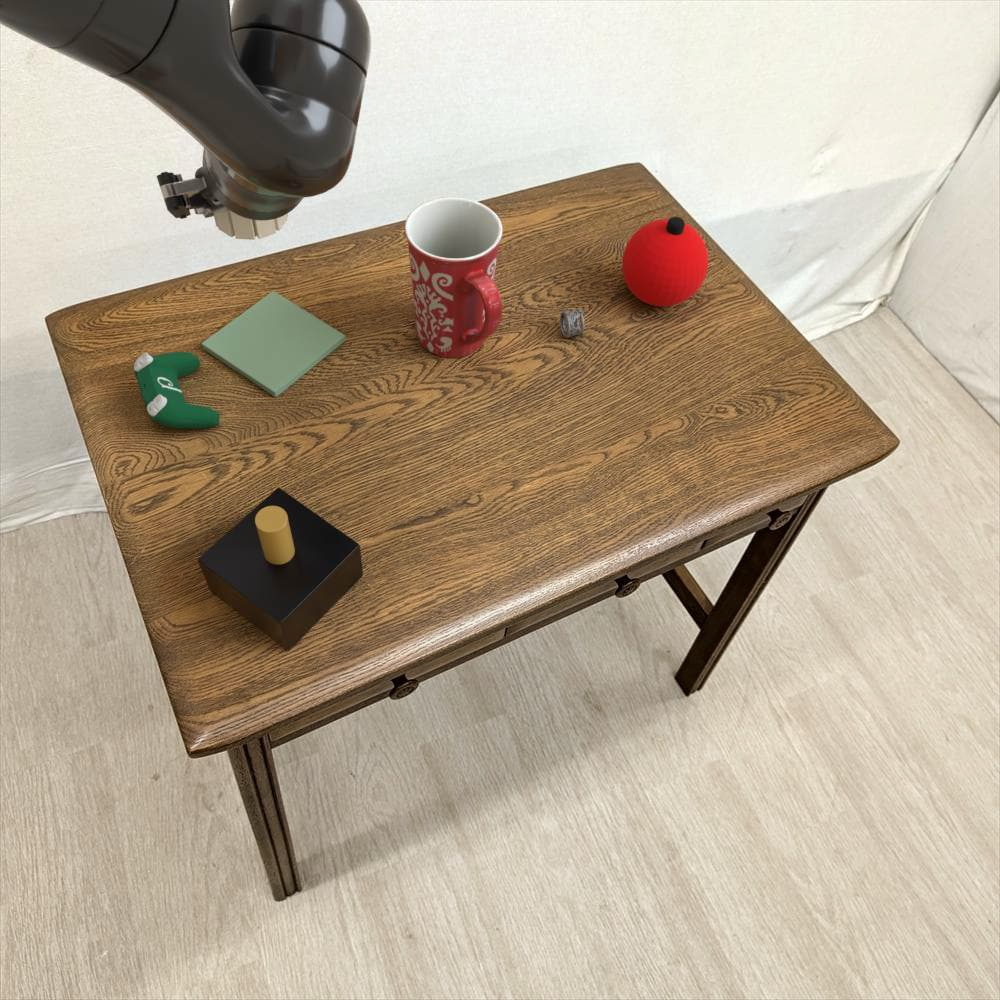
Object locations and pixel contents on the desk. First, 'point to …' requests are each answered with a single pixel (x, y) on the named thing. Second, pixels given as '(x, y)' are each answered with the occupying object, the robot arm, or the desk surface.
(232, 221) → the ring
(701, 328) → the desk surface
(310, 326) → the mat
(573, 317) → the decorative ring
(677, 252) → the ornament
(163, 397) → the gaming controller
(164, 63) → the robot arm
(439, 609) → the desk surface
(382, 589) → the desk surface
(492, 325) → the mug
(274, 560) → the ring stand
